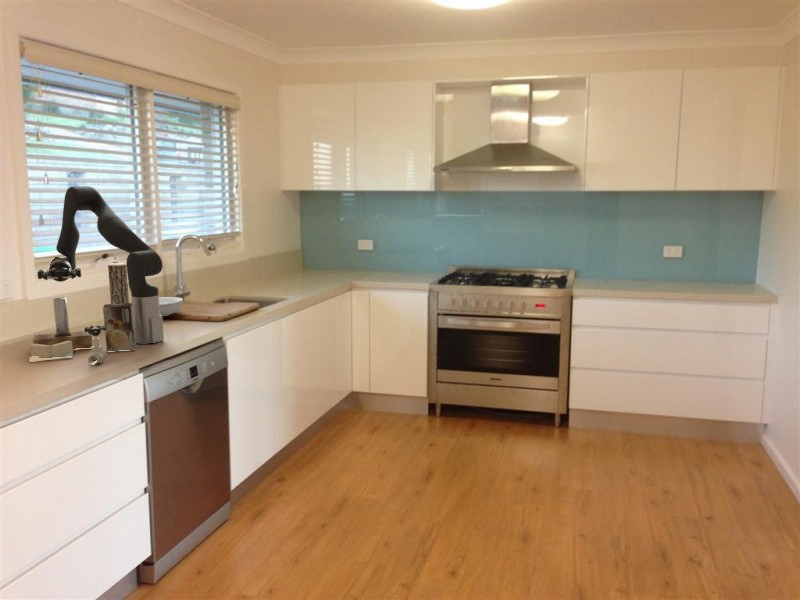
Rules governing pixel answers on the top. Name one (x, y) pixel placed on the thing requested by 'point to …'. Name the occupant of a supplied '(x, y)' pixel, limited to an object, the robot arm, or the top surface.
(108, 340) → the coffee box
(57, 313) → the axle
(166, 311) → the serving bowl
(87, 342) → the wooden block with hole
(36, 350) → the v block
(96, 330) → the valve
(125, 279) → the wooden log
